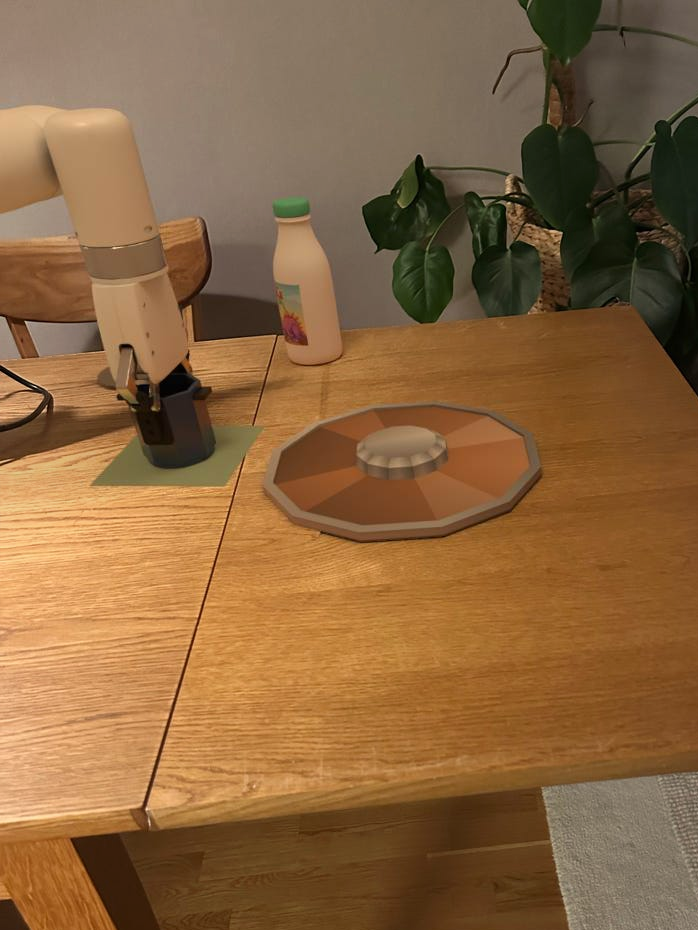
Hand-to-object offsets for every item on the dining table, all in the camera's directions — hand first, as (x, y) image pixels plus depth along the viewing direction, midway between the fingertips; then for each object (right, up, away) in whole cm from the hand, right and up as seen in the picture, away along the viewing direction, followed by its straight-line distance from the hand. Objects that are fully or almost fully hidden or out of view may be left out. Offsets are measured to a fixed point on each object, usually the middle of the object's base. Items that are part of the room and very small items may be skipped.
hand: (174, 426), depth 93 cm
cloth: (0, -3, +2) cm, 4 cm away
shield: (+26, -5, -2) cm, 26 cm away
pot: (0, -3, +2) cm, 3 cm away
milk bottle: (+11, +16, +26) cm, 32 cm away
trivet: (-13, +13, +22) cm, 29 cm away
